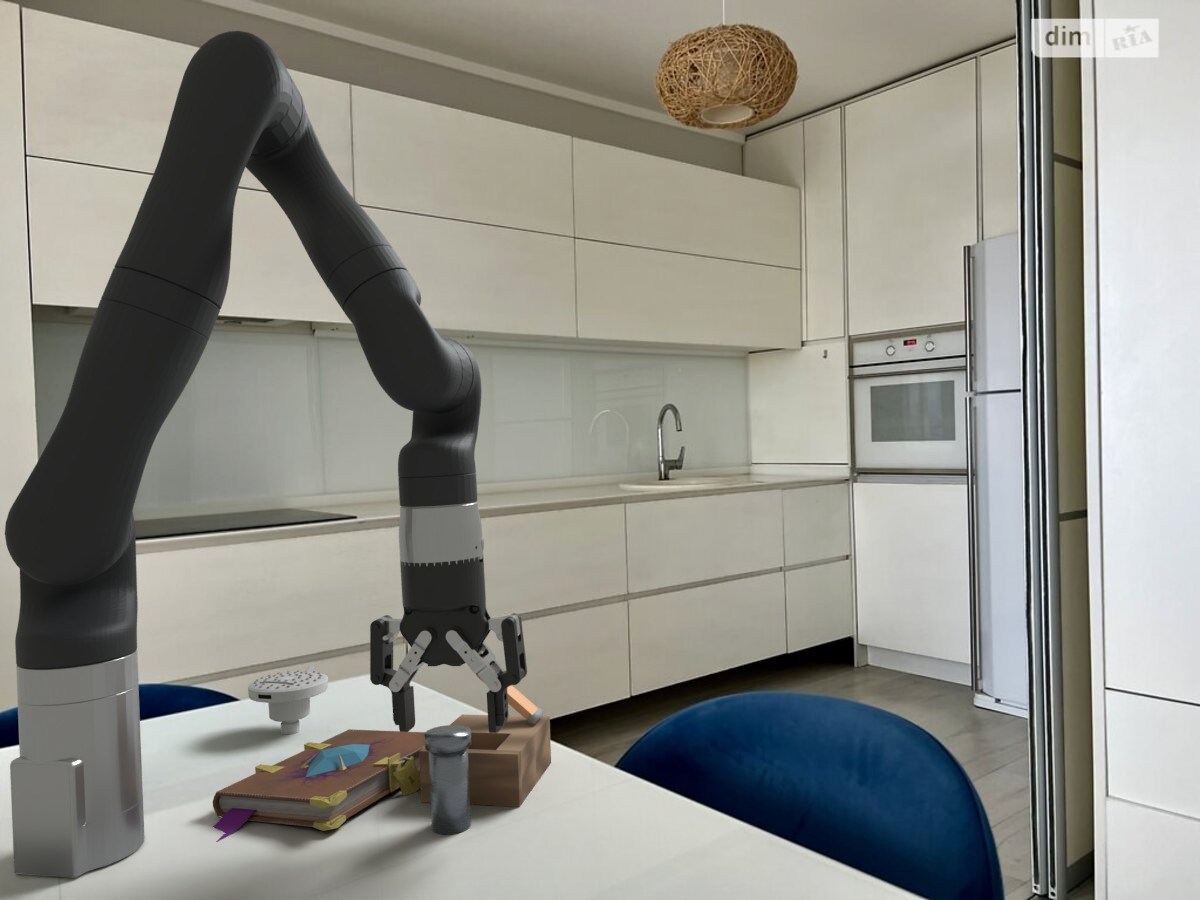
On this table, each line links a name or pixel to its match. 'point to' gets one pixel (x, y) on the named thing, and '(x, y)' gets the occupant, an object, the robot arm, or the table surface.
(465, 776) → the pin
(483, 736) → the block
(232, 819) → the book
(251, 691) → the showerhead
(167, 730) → the table surface
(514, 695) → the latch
